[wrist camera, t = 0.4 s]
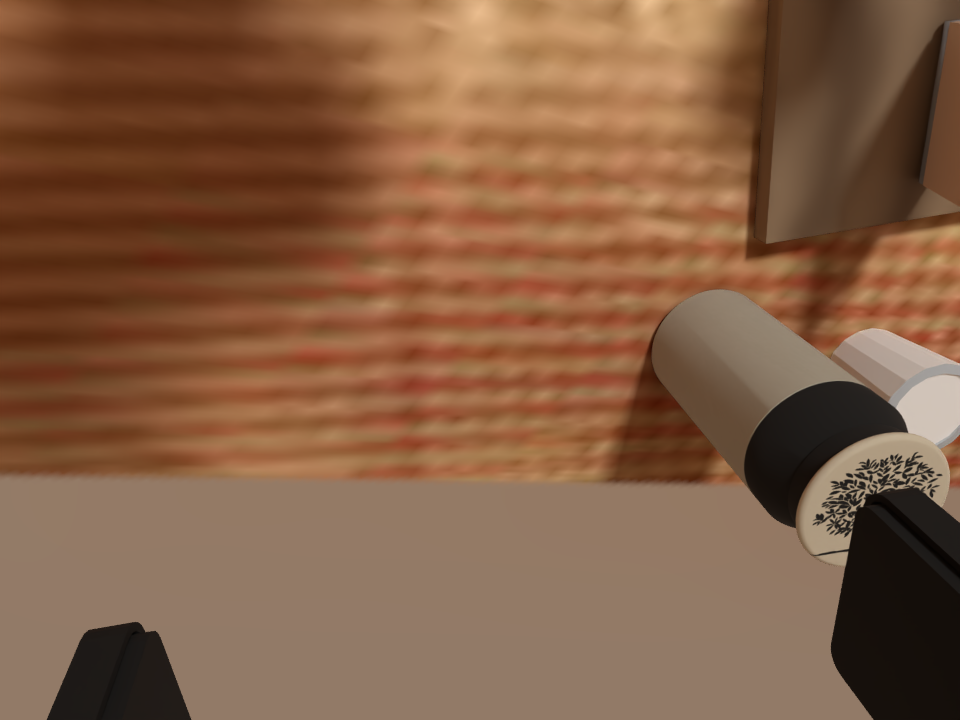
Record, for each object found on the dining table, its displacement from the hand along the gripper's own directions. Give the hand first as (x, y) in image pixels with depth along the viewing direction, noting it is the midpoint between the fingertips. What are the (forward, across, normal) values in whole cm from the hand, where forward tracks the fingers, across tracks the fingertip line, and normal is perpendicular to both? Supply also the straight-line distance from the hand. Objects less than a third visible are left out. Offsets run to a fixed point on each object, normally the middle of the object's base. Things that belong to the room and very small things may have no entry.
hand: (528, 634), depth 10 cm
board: (+35, -32, 0) cm, 47 cm away
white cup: (+35, -32, +18) cm, 51 cm away
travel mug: (+35, -20, +14) cm, 43 cm away
